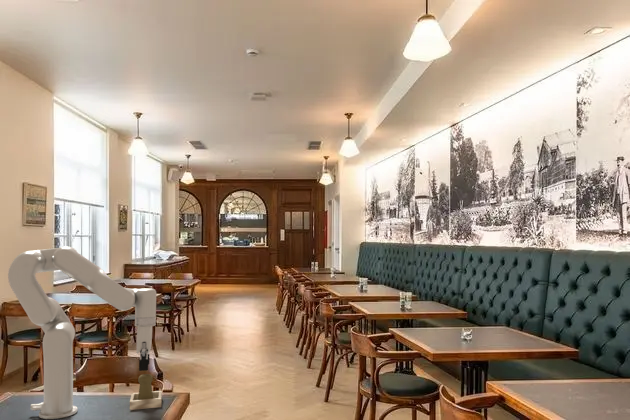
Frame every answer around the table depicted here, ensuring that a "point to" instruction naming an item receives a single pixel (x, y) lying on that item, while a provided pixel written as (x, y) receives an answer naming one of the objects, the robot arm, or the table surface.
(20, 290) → the robot arm
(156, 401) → the beige square frame
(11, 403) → the table surface
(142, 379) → the cork
